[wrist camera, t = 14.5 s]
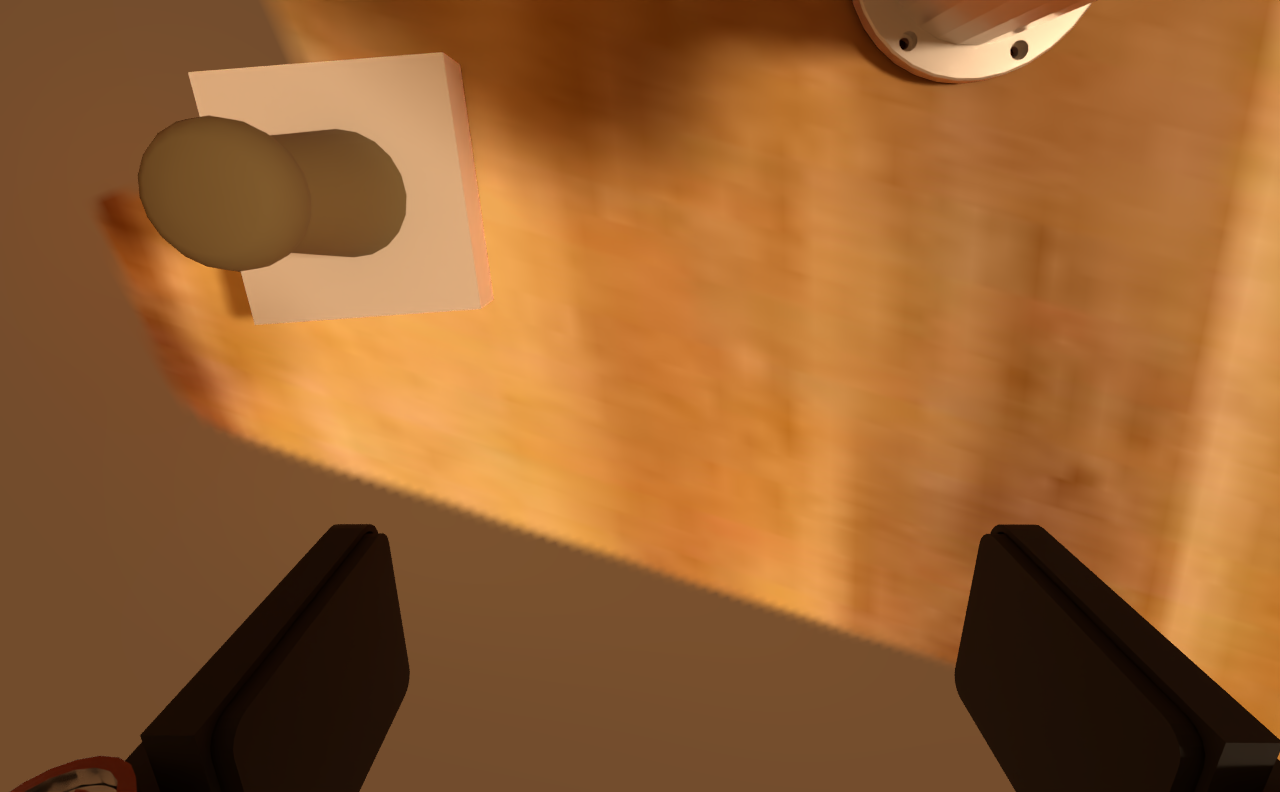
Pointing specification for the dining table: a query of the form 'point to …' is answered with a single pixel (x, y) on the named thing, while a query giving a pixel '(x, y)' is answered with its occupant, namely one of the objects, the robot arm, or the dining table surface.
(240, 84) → the block
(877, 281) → the dining table surface
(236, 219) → the cork
